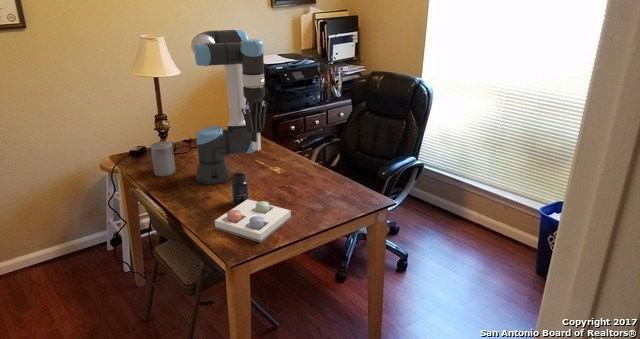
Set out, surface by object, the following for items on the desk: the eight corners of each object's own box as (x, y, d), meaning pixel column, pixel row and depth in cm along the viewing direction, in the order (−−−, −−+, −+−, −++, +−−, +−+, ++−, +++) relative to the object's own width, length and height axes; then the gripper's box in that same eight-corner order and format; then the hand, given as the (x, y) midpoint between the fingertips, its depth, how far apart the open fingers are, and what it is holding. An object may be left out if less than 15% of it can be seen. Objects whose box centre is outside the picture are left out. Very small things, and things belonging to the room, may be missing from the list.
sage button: (253, 214, 177) (253, 205, 175) (261, 209, 181) (260, 200, 180) (264, 217, 175) (264, 208, 173) (272, 212, 179) (271, 202, 177)
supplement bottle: (241, 207, 186) (240, 180, 181) (228, 203, 189) (226, 176, 184) (252, 201, 191) (251, 174, 186) (240, 197, 194) (238, 170, 190)
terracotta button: (224, 224, 170) (224, 214, 169) (233, 218, 174) (232, 208, 173) (235, 227, 168) (235, 217, 166) (244, 221, 172) (243, 211, 171)
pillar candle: (164, 167, 224) (160, 137, 218) (180, 170, 220) (176, 140, 214) (149, 174, 216) (144, 143, 210) (165, 178, 212) (161, 147, 206)
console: (215, 228, 170) (214, 220, 168) (248, 206, 186) (247, 199, 185) (260, 242, 161) (260, 234, 160) (290, 218, 177) (290, 210, 176)
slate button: (247, 230, 166) (246, 220, 164) (255, 224, 170) (254, 214, 168) (258, 234, 164) (258, 224, 162) (266, 227, 168) (266, 218, 166)
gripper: (251, 90, 155) (254, 156, 164) (273, 83, 166) (274, 145, 175) (233, 88, 159) (237, 152, 168) (255, 81, 169) (258, 142, 178)
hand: (256, 149), depth 171 cm, fingers closed
